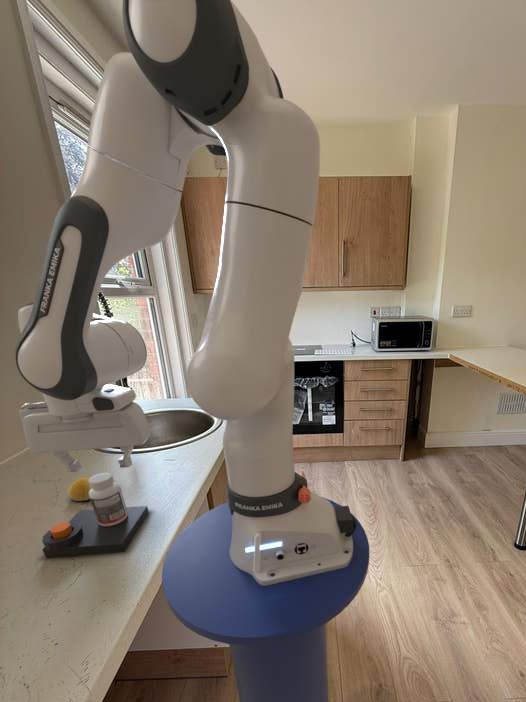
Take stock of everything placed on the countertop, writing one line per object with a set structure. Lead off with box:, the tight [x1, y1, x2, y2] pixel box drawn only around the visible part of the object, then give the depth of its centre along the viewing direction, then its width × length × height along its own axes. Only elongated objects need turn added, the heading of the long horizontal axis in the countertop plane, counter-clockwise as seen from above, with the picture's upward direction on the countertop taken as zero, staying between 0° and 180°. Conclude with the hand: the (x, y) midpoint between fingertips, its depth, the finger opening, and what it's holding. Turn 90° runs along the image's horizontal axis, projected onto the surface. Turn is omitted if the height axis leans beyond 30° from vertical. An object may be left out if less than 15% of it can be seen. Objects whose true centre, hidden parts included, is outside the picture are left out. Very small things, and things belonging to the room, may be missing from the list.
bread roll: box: [67, 477, 91, 502], centre depth 83 cm, size 8×9×4 cm
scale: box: [42, 505, 150, 558], centre depth 69 cm, size 14×12×4 cm
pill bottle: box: [89, 472, 128, 526], centre depth 69 cm, size 5×5×10 cm
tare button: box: [49, 521, 72, 539], centre depth 65 cm, size 3×3×2 cm
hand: (101, 468), depth 66 cm, fingers open, 8 cm apart
